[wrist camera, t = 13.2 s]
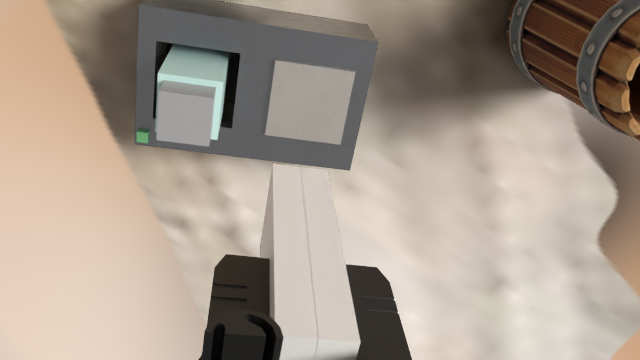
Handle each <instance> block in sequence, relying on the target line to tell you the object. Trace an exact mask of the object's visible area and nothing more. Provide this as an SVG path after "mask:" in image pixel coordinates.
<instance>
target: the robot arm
mask: <svg viewBox="0 0 640 360" xmlns="http://www.w3.org/2000/svg"><path fill="white" fill-rule="evenodd" d="M397 312H398V310H397V307H396V303H395V301H394V296H393V293H392V289H391V286H390V282H389V281H388V280H387V279H386V278H385V276H384V275H383V274H382V273H381V272H380V271H379V269H378V268H377V267H367V266H356V265H346V264H345V259H344V254H343V249H342V243H341V238H340V233H339V228H338V223H337V218H336V212H335V207H334V202H333V197H332V192H331V186H330V181H329V176H328V171H327V170H323V169H315V168H307V167H298V166H290V165H282V164H274V163H273V166H272V172H271V179H270V185H269V192H268V198H267V205H266V211H265V218H264V225H263V231H262V238H261V244H260V258H258V257H248V256H238V255H227V254H226V255H225V256H224V257H223V259H222V260H221V261H220V262H219V263H218V264H217V266H216V267H215V271H214V278H213V286H212V293H211V300H210V308H209V315H208V322H207V328H206V330H205V334H204V344H203V352H202V356H201V357H200V358H199V360H412V358H411V355H410V351H409V348H408V345H407V341H406V338H405V334H404V331H403V327H402V324H401V320H400V317H399V314H397Z"/></svg>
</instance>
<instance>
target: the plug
mask: <svg viewBox="0 0 640 360" xmlns="http://www.w3.org/2000/svg"><path fill="white" fill-rule="evenodd" d="M230 53H231V52H227V51H221V50H214V49H207V48H200V47H193V46H187V45H180V44H173V46H172V48H171V50H170V51H169V53H168V55H167V57H166V59H165V61H164V63H163V64H162V66H161V68H160V70H159V72H158V80H157V101H156V122H155V132H157V138H156V140H159V141H167V142H175V143H184V144H192V145H200V146H208V147H209V145H210V140H211V139H213V140H218V134H219V129H220V124H221V118H222V113H223V108H224V103H225V97H226V91H227V81H228V72H229V62H230Z"/></svg>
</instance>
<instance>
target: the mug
mask: <svg viewBox="0 0 640 360" xmlns="http://www.w3.org/2000/svg"><path fill="white" fill-rule="evenodd" d="M508 20H509V21H510V24H509V26H508V28H507V43H508V46H509V50H510V52H511V53H512V55H513V58H514V61H515V63H516V64H517V65H518V67H519V68H520V70H521V71H522V73H523V74H524V75H525V76H527V77H528V78H529V79H531V80H532V81H533V82H535V83H536V84H538V85H539V86H541V87H543V88H544V89H547V90H549V91H552V92H555V93H558V94H560V95H562V96H564V97H565V98H567V99H569V100H571V101H572V102H574V103H576V104H577V105H579V106H581V107H583V108H584V109H586V110H587V111H588V112H589V113H590V114H591V115H593V116H594V117H595V118H597V119H598V120H599V121H600V122H602V123H604V124H605V125H607V126H608V127H610V128H612V129H614V130H615V131H617V132H620V133H623V134H626V135H628V136H631V137H635V138H636V139H638V140H640V0H514V2H513V4H512V6H511V9H510V13H509V16H508Z"/></svg>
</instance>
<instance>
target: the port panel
mask: <svg viewBox="0 0 640 360" xmlns="http://www.w3.org/2000/svg"><path fill="white" fill-rule="evenodd" d="M167 43H173V44H180V45H187V46H193V47H200V48H207V49H214V50H221V51H227V52H234V53H240V62H239V71H238V80H237V88H236V97H235V104H232V103H224V108H223V113H222V118H221V124H220V129H219V134H218V140H213V139H211V140H210V145H209V147H208V146H200V145H192V144H184V143H175V142H167V141H159V140H156V138H157V132H155V122H156V101H157V80H158V72H159V70H160V68H161V66H162V64H163V63H164V61H165V59H166V45H167ZM377 45H378V41H377V39H376V38H375V36H374V35H373V33H372V31H371V30H370V28H369V27H368V25H366V24H359V23H353V22H347V21H341V20H334V19H328V18H322V17H316V16H309V15H303V14H297V13H291V12H284V11H278V10H272V9H266V8H259V7H253V6H247V5H241V4H234V3H228V2H222V1H216V0H143V1H142V2H141V3H140V4H139V12H138V45H137V79H136V112H135V144H136V145H145V146H153V147H161V148H169V149H178V150H186V151H194V152H202V153H210V154H219V155H227V156H235V157H243V158H252V159H260V160H268V161H276V162H285V163H293V164H301V165H309V166H318V167H326V168H334V169H342V170H350V167H351V163H352V158H353V154H354V149H355V145H356V140H357V136H358V131H359V127H360V122H361V118H362V113H363V108H364V104H365V99H366V95H367V90H368V86H369V81H370V77H371V72H372V68H373V63H374V59H375V54H376V50H377Z"/></svg>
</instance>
